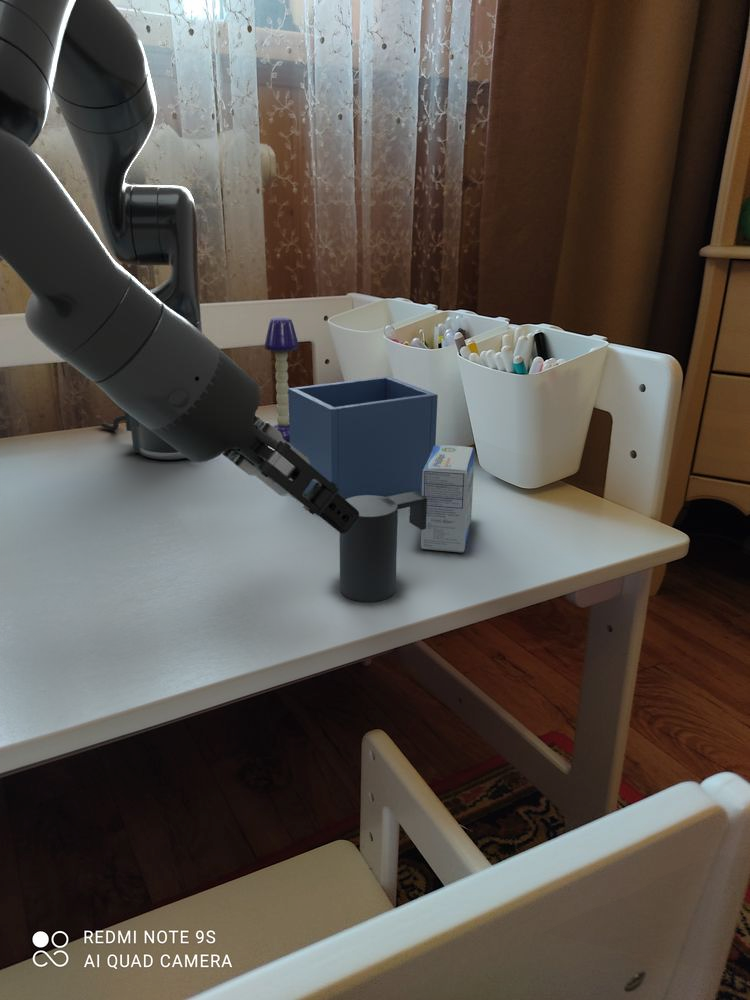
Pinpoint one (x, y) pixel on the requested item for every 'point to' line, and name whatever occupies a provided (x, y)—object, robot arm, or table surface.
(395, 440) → the box
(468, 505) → the medicine box
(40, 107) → the robot arm
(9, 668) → the table surface
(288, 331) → the toy lamp
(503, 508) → the table surface
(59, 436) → the table surface
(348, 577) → the mug
